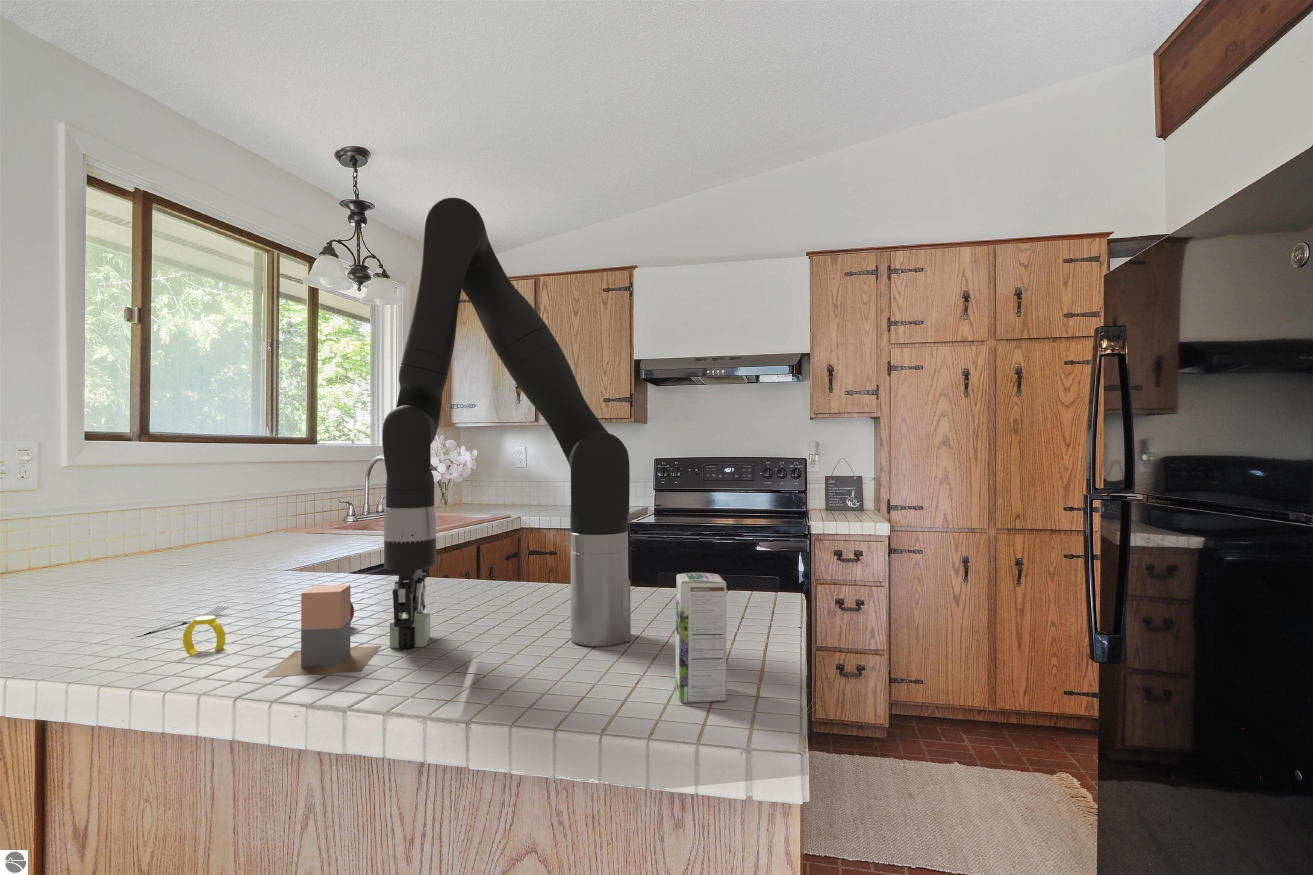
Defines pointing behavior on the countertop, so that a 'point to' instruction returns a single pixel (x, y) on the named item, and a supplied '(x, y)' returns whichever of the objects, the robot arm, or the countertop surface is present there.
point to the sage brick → (420, 631)
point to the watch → (199, 621)
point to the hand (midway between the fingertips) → (410, 647)
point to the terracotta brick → (325, 607)
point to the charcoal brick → (325, 646)
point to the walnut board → (350, 664)
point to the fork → (189, 622)
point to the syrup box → (700, 637)
